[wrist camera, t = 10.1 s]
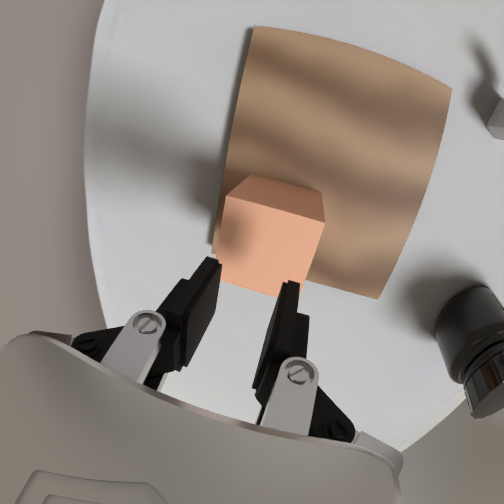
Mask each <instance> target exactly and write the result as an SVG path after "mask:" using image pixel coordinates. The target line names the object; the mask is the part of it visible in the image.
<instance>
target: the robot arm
mask: <svg viewBox="0 0 504 504" xmlns="http://www.w3.org/2000/svg"><path fill="white" fill-rule="evenodd" d="M221 272H222V264H220V263H219V260H218V259H214V258H211V257H206V258H205V259H204V261H203V262H202V263H201V265H200V266H199V267H198V268H197V270H196V271H195V272H194V274H193V275H192V276H191V278H190V279H189V280H187V279H183V278H182V279H181V280H180V281H179V282H178V283H177V285H176V286H175V287H174V288H173V290H172V291H171V292H170V294H169V295H168V296H167V297H166V299H165V300H164V301H163V303H162V304H161V305H160V306H159V308H158V309H157V310H156V312H155V311H151V310H143V311H139V312H137V313H135V314H134V315H133V316H132V317H131V318H130V319H129V320H128V322H127V323H126V325H125V326H121V327H116V328H110V329H105V330H99V331H94V332H88V333H84V334H80V335H79V336H77V337H76V338H73V336H72V335H67V334H59V333H51V332H43V331H32V332H29V333H28V334H22V335H19V336H17V337H15V338H13V339H12V340H10V341H9V342H8V343H7V344H6V345H4V346H3V347H2V348H1V349H0V504H401V489H400V481H399V474H400V472H401V470H402V467H403V463H404V460H403V456H402V454H401V453H400V452H399V451H398V450H396V449H394V448H392V447H391V446H389V445H387V444H385V443H383V442H381V441H379V440H377V439H376V438H374V437H372V436H370V435H368V434H366V433H365V432H363V431H361V432H360V433H359V432H358V431H356V430H355V428H354V425H353V423H352V422H351V421H350V419H349V418H348V417H347V416H346V415H345V414H344V413H343V412H342V411H341V410H340V409H339V408H338V407H337V406H336V405H335V403H334V402H333V401H332V400H331V399H330V398H329V397H328V396H327V395H326V394H325V393H324V392H323V390H322V389H321V388H320V387H319V386H318V379H319V373H318V370H317V368H316V367H315V365H314V364H313V363H312V362H310V361H309V360H307V359H306V354H307V344H308V332H309V315H305V314H301V313H297V308H298V300H299V291H300V283H298V282H294V281H291V280H288V282H287V283H286V282H283V283H282V286H281V289H280V292H279V295H278V299H277V302H276V305H275V308H274V311H273V314H272V317H271V320H270V323H269V326H268V329H267V333H266V337H265V340H264V344H263V348H262V352H261V356H260V359H259V363H258V367H257V370H256V374H255V378H254V381H253V385H252V388H253V389H256V393H255V397H256V399H257V400H258V401H259V403H260V404H261V407H260V410H259V413H258V416H257V419H256V422H255V424H251V423H248V422H244V421H240V420H237V419H233V418H230V417H227V416H223V415H220V414H217V413H214V412H211V411H208V410H205V409H202V408H199V407H196V406H194V405H191V404H188V403H186V402H183V401H180V400H178V399H175V398H173V397H170V396H168V395H165V394H163V393H161V392H160V391H161V389H162V387H163V384H164V382H165V380H166V377H167V374H168V373H169V372H172V371H174V370H176V371H179V372H180V371H181V369H182V367H183V366H185V367H187V366H188V364H189V362H190V360H191V358H192V357H193V355H194V353H195V351H196V349H197V347H198V345H199V343H200V341H201V339H202V337H203V335H204V333H205V331H206V329H207V327H208V325H209V323H210V321H211V319H212V317H213V315H214V313H215V309H216V303H217V297H218V290H219V284H220V278H221Z"/></svg>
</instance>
